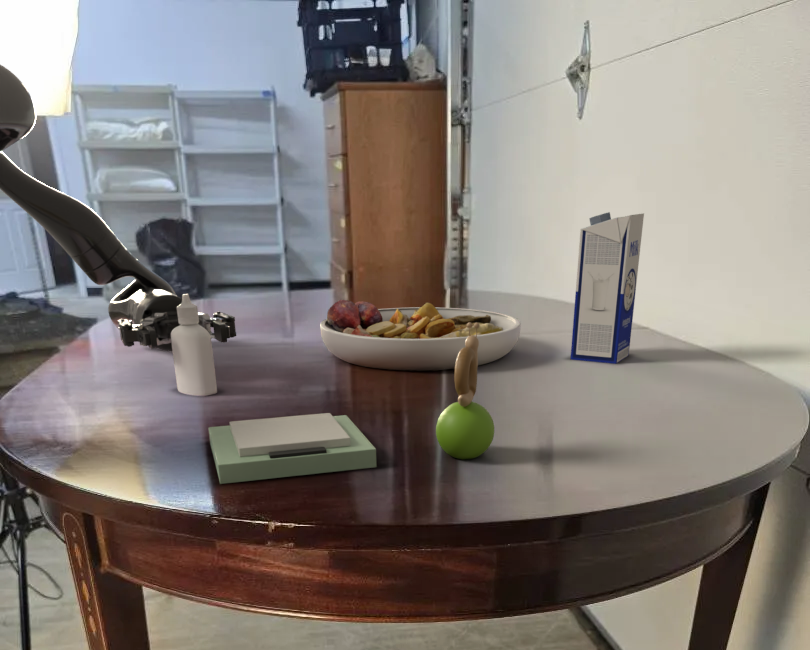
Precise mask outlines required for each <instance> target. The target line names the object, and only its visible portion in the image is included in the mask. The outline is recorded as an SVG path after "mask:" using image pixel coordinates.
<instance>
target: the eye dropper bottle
mask: <svg viewBox="0 0 810 650" xmlns="http://www.w3.org/2000/svg"><path fill="white" fill-rule="evenodd" d="M181 298H182V303H181V304H180V305H179V306H177V315H178V322H179V324H180V325H179V326H178V327H175V328H174V329H173V330H172V332H171V343H172V351H173V352H172V358H173V365H174V373H175V382H176V388H177V391H178V392H179V393H181V394H184V395H188V396H197V397H207V396H208V397H209V396H212V395H215V394H217V393H218V385H217V377H216V369H215V360H214V359H215V358H214V350H213V344H212V339H211V336H210V334H209V332H208V331H207V330H206V329H205V328H203V327H202V326H200V325H199V324H198V323H199V317H198V313H199V309H198V308H199V307H198V306H197V304H195V303H192V301H191V298H190V295H189V293H183V294H182V295H181Z"/></svg>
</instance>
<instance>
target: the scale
mask: <svg viewBox="0 0 810 650" xmlns="http://www.w3.org/2000/svg"><path fill="white" fill-rule="evenodd" d="M208 436H209V445H210V449H211V453H212V457H213V461H214V465H215V469H216V473H217V477H218V481H219V485H222V484H232V483H233V484H234V483H241V482H242V483H243V482H250V481H262V480H268V479H277V478H287V477H288V478H289V477H296V476H297V477H298V476H306V475H315V474H317V475H318V474H324V473H333V472H345V471H352V470H354V471H355V470H362V469H370V468H371V469H372V468H377V448H376V447H375V445H373V444H372V443H371V442H370V440H369V439H368V438H367V437H366V436H365V435H364V434H363V432H362V431H361V430H360V429H359V428H358V427H357V425H356V424H355V423H354V422H353V421H352V420H351V419H350V417H349V416H348V415H347V414H344V415H343V414H342V415H332V413H331V412H324V413H312V414H300V415H290V416H279V417H266V418H256V419H244V420H233V421H229V425H220V426H209V427H208Z"/></svg>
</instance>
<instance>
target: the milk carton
mask: <svg viewBox="0 0 810 650" xmlns="http://www.w3.org/2000/svg"><path fill="white" fill-rule="evenodd" d="M644 219H645V213H636V214H630V215H625V216H618V217H614V218H612V217H611V212H610V211H608V212H604V213H601V214H599V215H595V216H592V217H589V223H590V225H589V226H585V227H582V228H580V231H579V232H580V233H579V242H578V243H579V245H578V256H577V257H578V258H577V271H576V283H575V296H574V309H573V319H572V321H573V323H572V333H571V334H572V335H571V348H570V360H573V361H581V362H582V361H584V362H592V363H604V364H615V365H616V364H618V363H620V362H622V360H624V359H626V358H627V357H629V355H630V347H631V337H632V329H633V328H632V327H633V318H634V309H635V301H636V291H637V282H638V274H639V273H638V272H639V263H640V255H641V254H640V253H641V244H642V236H643V226H644Z"/></svg>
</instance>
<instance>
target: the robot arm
mask: <svg viewBox="0 0 810 650" xmlns="http://www.w3.org/2000/svg"><path fill="white" fill-rule="evenodd" d="M36 111H37V110H36V106H35V103H34V100H33V98H32V96H31V94H30V92H29V89H28V88H27V87H26V86H25V84H24V83H23V82H22V81H21V80H20V78H18V77H17V75H15V74H14V73H13V72H12V71H11V70H10V69H8V68H7V67H5V66H4V65H2V64H0V191H1V192H2V193H4V194H5V196H7V197H8V198H10V200H12V201H13V202H14V203H16V205H18V206H19V207H20V208H21V209H22V210H23V211H25V212H26V214H28V216H30V217H31V218H32V219H34V221H36V222H37V223H38V225H40V226H41V227H42V228H43V229H44V230H45V231H46V232H47V233H48V234H49V235H50V236H51V237H52V238H53V239H54V240H55V242H56V243H58V244H59V245H60V246H61V248H62V249H63V250H64V251H65V252H66V254H67V255H68V256H69V257H70V258H71V259H72V261H74V262H75V264H76V265H77V266H78V267H79V268H80V269H81V270H82V272H83V273H84V274H85V275H86V276H87V277H88V278H89V280H91V281H92V282H93V283H94V284H95V285H98V286H105V285H109V284H112V283H114V282H116V281H118V280H120V279H122V278H129V277H130V278H133V279H134V280H133V281H132V282H131V283H130V284H128V285H127V286H126V287H125V288H123V289H122V290H121V291H120V292H118V293H117V294H116V295H115V296H114V297H113V298H112V299H111V300H110V301H109V303H108V308H107V312H108V316H109V319H110V320H111V323H112V324H113V325H114V327H116V328H117V329H118V330H119V337H120V340H121V342H122V344H123V346H124V347H128V348H131V347H132V346H133V347H134V346H135V342H136V343H137V342H138V343H139V346H141V347H149V349H151V350H154V349H157V350H160V351H163V352H169V353H171V352H172V353H173V351H172V343H171V332H172V330H173V329H174V328H175V327H178V326H179V325H180V324H179V322H178V315H177V306H179V305H180V304H181V303H182V297H180V296H179V295H177V294H176V292H175V290H174V288H173V287H172V285H171V284H169V282H167V281H166V280H165V279H164V278H162V277H161V276H159V275H158V274H157V273H155V272H154V271H153V270H151V269H150V268H148V267H147V266H145V264H143V263H142V262H140V260H138V259H137V258H136V257H135V256H134V255H133V254H132V253H131V252H130V251H129V249H128V248H126V247H125V246H124V245H123V243H122V242H121V241H120V239H118V237H117V236H116V234H114V232H113V231H112V230H111V229H110V227H109V226H108V225H107V224H106V222H105V221H104V220H103V219H102V217H100V216H99V215H98V214H97V212H95V211H94V209H92V208H90V206H88V205H86V204H85V203H83V202H82V201H80V200H78V199H76V198H74V197H72V196H70V195H67V194H66V193H64V192H61V191H59V190H57V189H55V188H53V187H50V186H48V185H46V184H45V183H43V182H41V181H39V180H37V179H36V178H34V177H32V176H31V175H29V174H28V173H26V172H24V171H23V170H22V169H20V167H18V166H17V165H16V164H15V163H14V162H13V161H12V160H11V159H10V158H9V157H8V156H7V155H6V154H5V153H4V152H3V151H5V150H6V149H8V148H9V147H11V146H13V145H14V144H16V143H17V142H19V141H20V140H21V139H23V138H24V137H26V136H27V135H28V134H29V133H30V132H31V131H32V130H33V128H34V126H35V124H36V120H37V112H36ZM198 317H199V323H198V324H199V325H200V326H202V327H203V328H205V329H206V330H207V331H208V332H209V334H210V336H211V340H212V339H215V340H216V341H217V342H219V343H227V342H228V339H231V338H232V339H233V338H236V337H237V331H236V317H235V316H233V315H230V314H228V313H225V312H221V311H216V312H214V313H213V315H212V317H211V316H210V315H209V314H208V313H206V312H205V313H204V312H198ZM211 328H212V329H213V332H212V329H211Z"/></svg>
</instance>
